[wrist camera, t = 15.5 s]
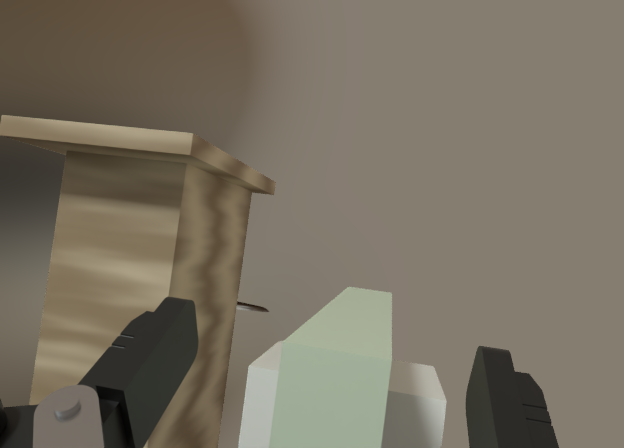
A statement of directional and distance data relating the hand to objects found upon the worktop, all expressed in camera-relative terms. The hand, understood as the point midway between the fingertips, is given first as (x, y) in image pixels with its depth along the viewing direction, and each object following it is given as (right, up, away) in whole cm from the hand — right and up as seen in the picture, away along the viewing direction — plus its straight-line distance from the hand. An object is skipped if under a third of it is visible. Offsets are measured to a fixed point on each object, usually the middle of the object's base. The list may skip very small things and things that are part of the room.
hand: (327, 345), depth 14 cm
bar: (+2, -5, +13) cm, 14 cm away
